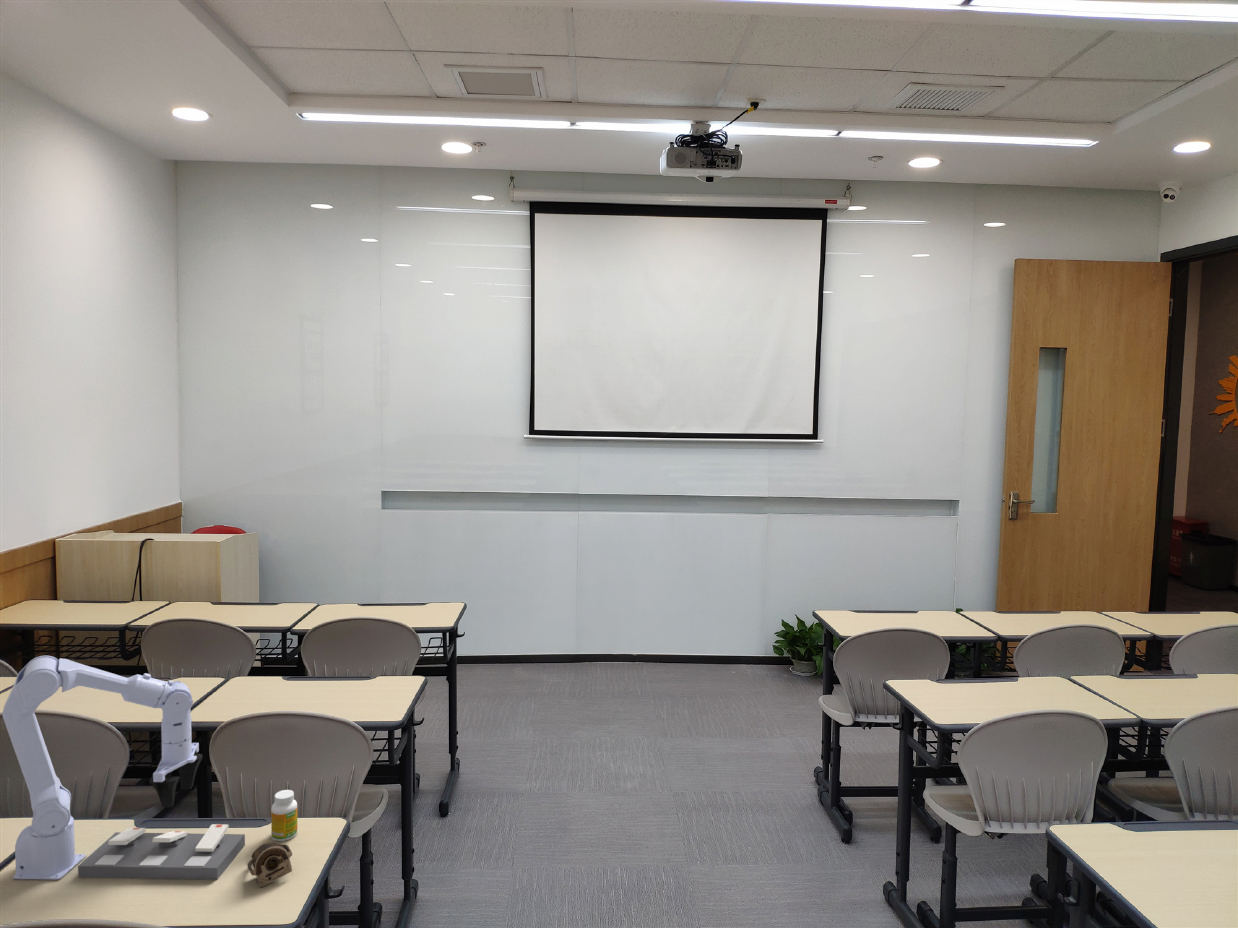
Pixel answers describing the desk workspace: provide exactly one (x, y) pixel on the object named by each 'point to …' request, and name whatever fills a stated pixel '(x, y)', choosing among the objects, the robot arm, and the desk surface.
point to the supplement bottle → (284, 816)
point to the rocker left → (126, 836)
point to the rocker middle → (169, 836)
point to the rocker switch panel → (161, 858)
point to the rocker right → (212, 838)
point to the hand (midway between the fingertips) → (177, 796)
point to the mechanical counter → (270, 862)
